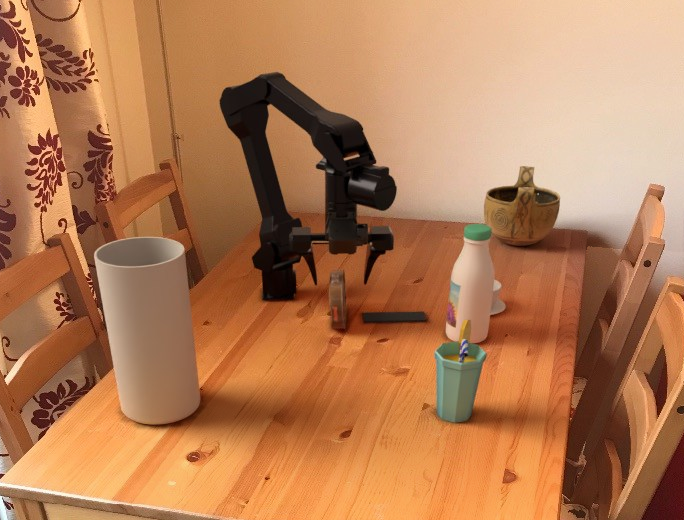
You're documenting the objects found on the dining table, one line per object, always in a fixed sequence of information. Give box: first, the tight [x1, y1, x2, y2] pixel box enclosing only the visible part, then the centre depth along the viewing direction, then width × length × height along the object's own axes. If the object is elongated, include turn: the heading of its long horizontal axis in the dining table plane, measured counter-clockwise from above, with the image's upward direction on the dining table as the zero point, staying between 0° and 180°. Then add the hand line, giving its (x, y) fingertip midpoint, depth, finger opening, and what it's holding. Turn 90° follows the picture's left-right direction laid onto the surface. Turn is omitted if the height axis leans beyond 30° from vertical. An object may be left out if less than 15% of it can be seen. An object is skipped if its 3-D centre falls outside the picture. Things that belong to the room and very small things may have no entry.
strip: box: [361, 311, 427, 324], centre depth 153 cm, size 12×4×1 cm, turn 92°
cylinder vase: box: [93, 236, 201, 426], centre depth 119 cm, size 12×12×25 cm
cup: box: [433, 320, 488, 424], centre depth 119 cm, size 14×8×15 cm, turn 174°
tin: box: [328, 269, 347, 330], centre depth 151 cm, size 15×3×8 cm, turn 177°
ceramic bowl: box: [483, 165, 561, 247], centre depth 184 cm, size 22×17×15 cm
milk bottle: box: [445, 223, 495, 344], centre depth 141 cm, size 8×8×20 cm
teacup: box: [490, 279, 507, 316], centre depth 156 cm, size 10×10×5 cm
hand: (340, 284), depth 149 cm, fingers open, 9 cm apart
